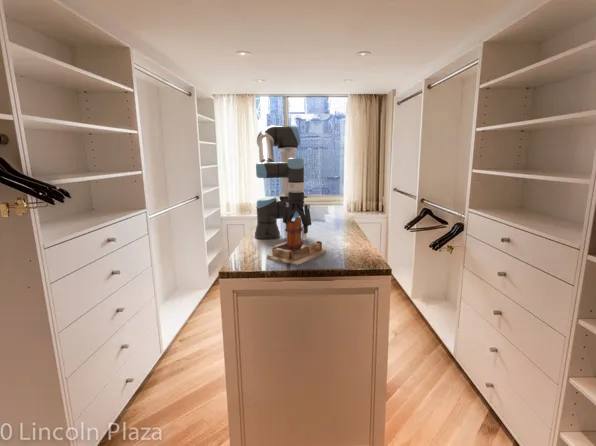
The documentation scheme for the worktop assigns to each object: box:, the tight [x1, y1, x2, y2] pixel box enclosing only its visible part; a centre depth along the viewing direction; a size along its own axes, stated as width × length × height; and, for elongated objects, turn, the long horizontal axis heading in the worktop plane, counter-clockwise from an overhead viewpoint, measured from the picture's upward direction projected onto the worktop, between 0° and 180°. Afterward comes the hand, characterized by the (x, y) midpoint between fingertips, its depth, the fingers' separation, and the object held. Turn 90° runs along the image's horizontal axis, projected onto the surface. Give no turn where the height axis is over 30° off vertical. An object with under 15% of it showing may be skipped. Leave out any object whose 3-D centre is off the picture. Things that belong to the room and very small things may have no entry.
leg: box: [305, 240, 323, 254], centre depth 158 cm, size 11×3×4 cm, turn 140°
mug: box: [284, 216, 304, 252], centre depth 156 cm, size 15×8×15 cm, turn 164°
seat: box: [266, 241, 327, 266], centre depth 157 cm, size 18×24×5 cm
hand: (297, 238), depth 156 cm, fingers closed on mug, 8 cm apart
